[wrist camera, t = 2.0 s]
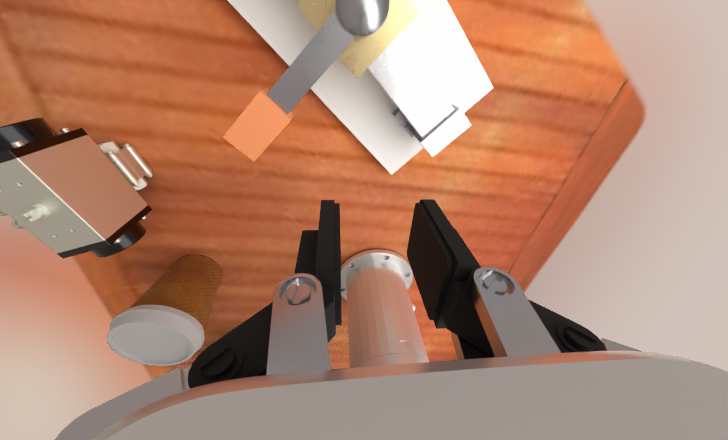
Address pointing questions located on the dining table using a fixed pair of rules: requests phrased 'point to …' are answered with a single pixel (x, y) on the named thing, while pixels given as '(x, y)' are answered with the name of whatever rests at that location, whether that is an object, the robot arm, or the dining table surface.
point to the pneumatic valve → (72, 188)
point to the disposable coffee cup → (168, 315)
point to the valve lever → (304, 74)
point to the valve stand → (386, 72)
